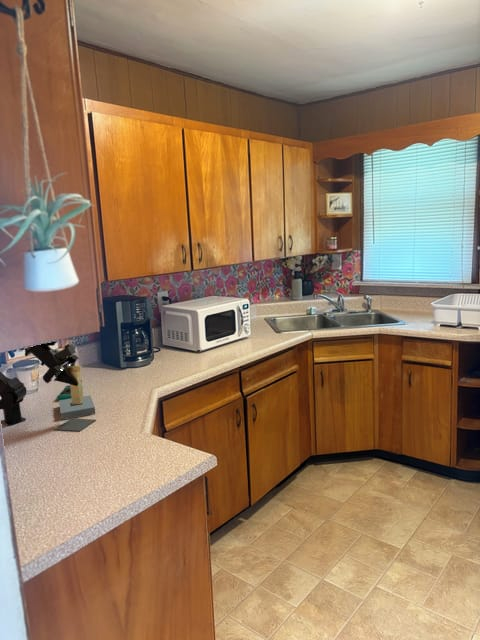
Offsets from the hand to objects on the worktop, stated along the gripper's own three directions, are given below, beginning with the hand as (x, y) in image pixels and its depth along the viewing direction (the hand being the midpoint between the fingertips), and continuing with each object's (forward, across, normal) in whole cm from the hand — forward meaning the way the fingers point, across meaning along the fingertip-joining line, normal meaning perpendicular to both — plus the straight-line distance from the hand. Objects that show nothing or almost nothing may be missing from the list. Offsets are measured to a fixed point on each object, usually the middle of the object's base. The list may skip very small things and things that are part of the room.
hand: (79, 383), depth 172 cm
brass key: (+4, 0, +6) cm, 7 cm away
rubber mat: (+9, -5, +10) cm, 15 cm away
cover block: (+5, +10, +14) cm, 18 cm away
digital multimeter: (-2, +29, +22) cm, 37 cm away
